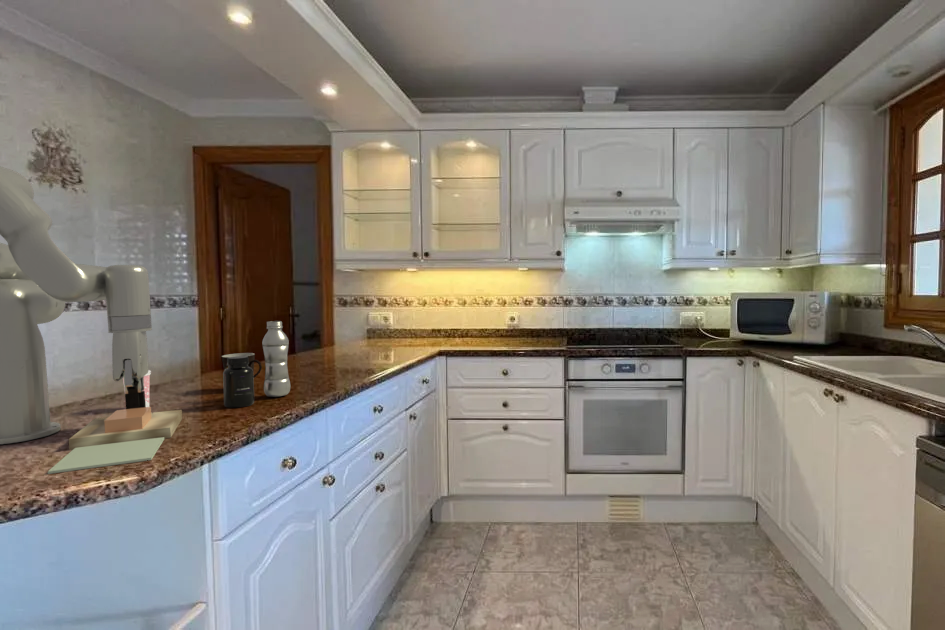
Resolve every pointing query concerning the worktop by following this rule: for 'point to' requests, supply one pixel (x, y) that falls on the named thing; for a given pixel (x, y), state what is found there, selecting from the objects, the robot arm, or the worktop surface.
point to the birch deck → (155, 428)
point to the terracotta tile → (128, 419)
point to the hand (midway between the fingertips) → (136, 410)
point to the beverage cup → (145, 387)
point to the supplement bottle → (238, 383)
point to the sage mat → (108, 455)
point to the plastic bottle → (276, 360)
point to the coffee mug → (249, 355)
